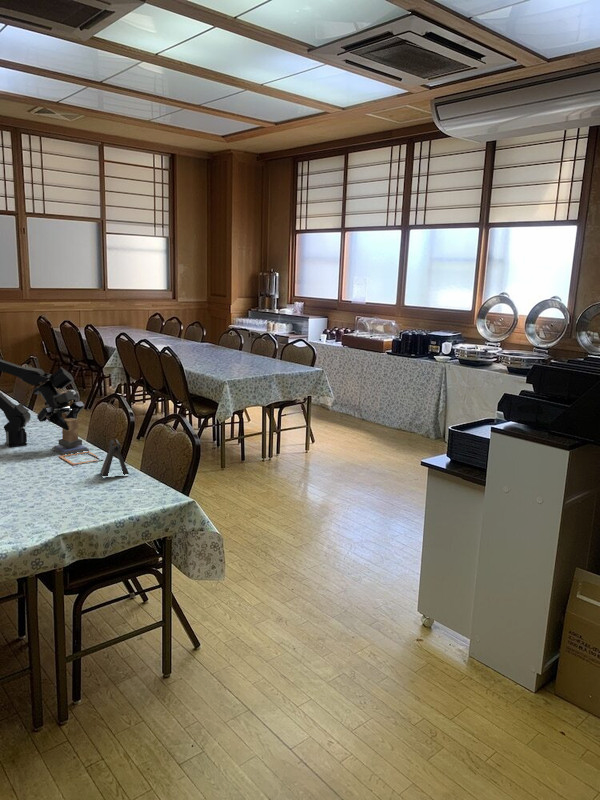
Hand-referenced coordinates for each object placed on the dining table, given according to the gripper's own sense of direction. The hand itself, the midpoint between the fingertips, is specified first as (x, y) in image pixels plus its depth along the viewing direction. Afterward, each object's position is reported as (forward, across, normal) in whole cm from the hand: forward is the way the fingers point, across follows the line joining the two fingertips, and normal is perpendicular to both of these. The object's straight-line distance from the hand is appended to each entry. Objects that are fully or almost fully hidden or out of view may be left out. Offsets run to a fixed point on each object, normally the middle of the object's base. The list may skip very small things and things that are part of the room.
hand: (72, 428), depth 232 cm
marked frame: (+14, -6, -1) cm, 15 cm away
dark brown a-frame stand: (+30, -12, -17) cm, 36 cm away
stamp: (+4, 0, +6) cm, 7 cm away
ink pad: (+5, 0, +7) cm, 9 cm away
